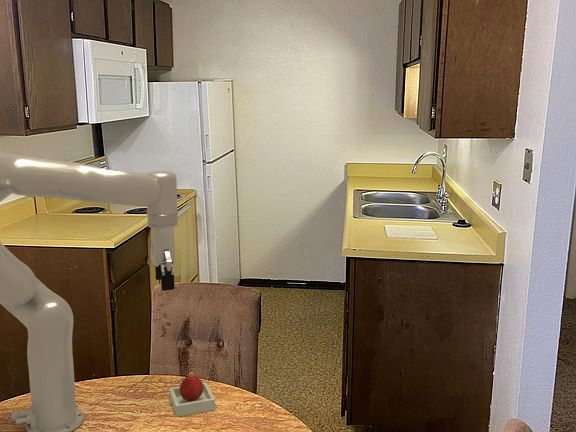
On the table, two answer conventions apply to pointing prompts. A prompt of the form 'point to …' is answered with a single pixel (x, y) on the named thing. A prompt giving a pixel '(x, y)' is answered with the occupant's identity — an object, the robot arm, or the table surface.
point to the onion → (191, 388)
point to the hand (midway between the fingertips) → (164, 284)
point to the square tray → (186, 408)
